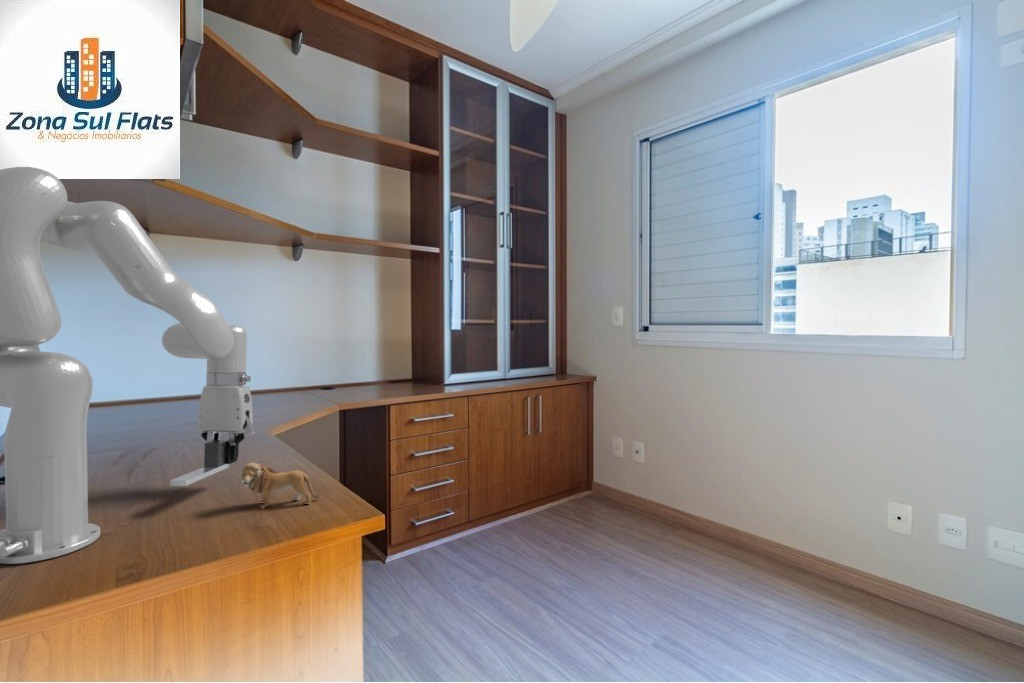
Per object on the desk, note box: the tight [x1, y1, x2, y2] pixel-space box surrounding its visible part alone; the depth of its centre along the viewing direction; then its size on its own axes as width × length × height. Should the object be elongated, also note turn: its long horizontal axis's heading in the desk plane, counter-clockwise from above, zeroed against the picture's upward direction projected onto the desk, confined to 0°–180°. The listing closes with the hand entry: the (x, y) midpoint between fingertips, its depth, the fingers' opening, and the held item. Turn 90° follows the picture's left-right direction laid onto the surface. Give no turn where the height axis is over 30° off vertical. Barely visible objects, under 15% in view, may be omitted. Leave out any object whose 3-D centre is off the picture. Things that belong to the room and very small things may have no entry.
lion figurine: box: [239, 462, 321, 508], centre depth 97 cm, size 15×5×9 cm, turn 112°
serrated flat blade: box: [169, 439, 230, 487], centre depth 99 cm, size 14×3×6 cm, turn 0°
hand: (223, 461), depth 106 cm, fingers closed on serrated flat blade, 3 cm apart
